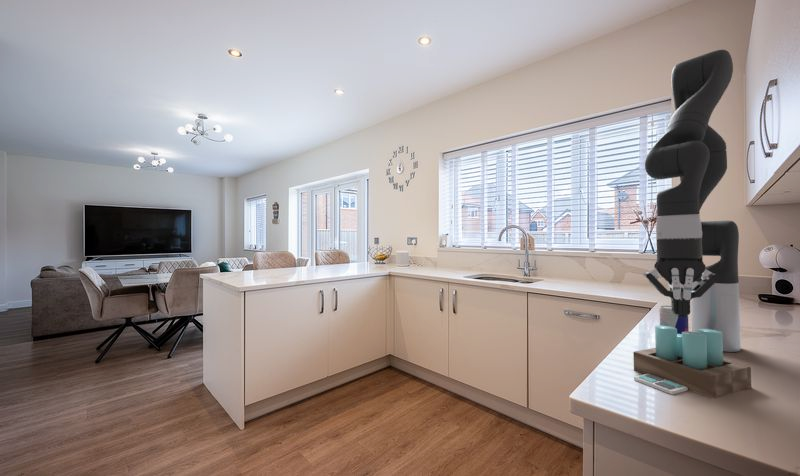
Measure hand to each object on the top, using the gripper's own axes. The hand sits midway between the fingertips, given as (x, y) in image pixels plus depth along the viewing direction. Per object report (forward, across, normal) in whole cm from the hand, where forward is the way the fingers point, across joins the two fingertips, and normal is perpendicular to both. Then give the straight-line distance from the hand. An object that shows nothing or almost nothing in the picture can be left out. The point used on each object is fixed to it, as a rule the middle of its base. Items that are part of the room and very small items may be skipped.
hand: (680, 316), depth 71 cm
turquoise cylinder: (+9, -3, +4) cm, 11 cm away
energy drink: (+12, -1, -10) cm, 16 cm away
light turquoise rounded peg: (+9, 0, +8) cm, 12 cm away
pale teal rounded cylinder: (+9, +4, +4) cm, 11 cm away
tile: (+12, +6, +10) cm, 17 cm away
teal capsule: (+12, 0, 0) cm, 12 cm away
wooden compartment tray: (+12, 0, +4) cm, 13 cm away
